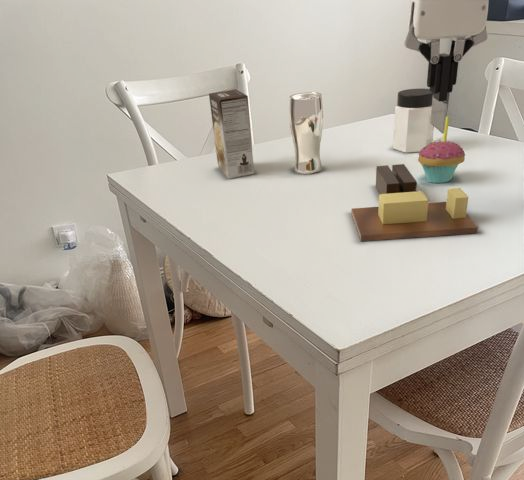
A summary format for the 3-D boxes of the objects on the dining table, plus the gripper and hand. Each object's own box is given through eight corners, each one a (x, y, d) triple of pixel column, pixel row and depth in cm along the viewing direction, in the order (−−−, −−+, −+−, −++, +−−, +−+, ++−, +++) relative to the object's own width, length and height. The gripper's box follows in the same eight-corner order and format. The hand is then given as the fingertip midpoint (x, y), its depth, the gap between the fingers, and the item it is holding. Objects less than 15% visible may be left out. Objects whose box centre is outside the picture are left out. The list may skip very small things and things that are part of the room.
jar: (428, 142, 128) (433, 87, 122) (435, 151, 122) (441, 93, 115) (390, 144, 129) (393, 90, 122) (395, 153, 123) (399, 96, 116)
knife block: (402, 184, 105) (403, 163, 103) (415, 204, 96) (416, 181, 94) (375, 186, 105) (376, 166, 103) (385, 206, 96) (386, 184, 94)
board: (455, 206, 93) (456, 200, 93) (477, 233, 84) (478, 227, 83) (351, 213, 94) (351, 208, 94) (360, 241, 85) (360, 235, 84)
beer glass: (322, 174, 114) (321, 97, 106) (290, 175, 116) (286, 99, 107) (325, 164, 120) (324, 91, 111) (294, 165, 121) (290, 93, 113)
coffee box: (217, 168, 124) (207, 92, 115) (243, 164, 125) (236, 88, 116) (228, 179, 117) (218, 99, 108) (255, 174, 118) (249, 94, 109)
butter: (420, 211, 90) (421, 190, 88) (426, 221, 86) (428, 200, 84) (378, 214, 91) (379, 194, 89) (382, 224, 87) (383, 203, 85)
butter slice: (457, 208, 90) (460, 187, 88) (465, 218, 86) (468, 196, 84) (445, 209, 90) (447, 188, 88) (453, 219, 86) (455, 197, 84)
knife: (434, 122, 87) (441, 51, 81) (447, 133, 82) (455, 57, 76) (427, 123, 87) (433, 52, 82) (439, 133, 82) (447, 58, 76)
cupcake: (422, 171, 111) (427, 108, 104) (465, 174, 107) (474, 109, 100) (412, 184, 104) (417, 119, 98) (457, 188, 101) (466, 120, 94)
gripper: (504, -65, 74) (483, 83, 84) (390, -54, 74) (384, 91, 85) (526, -69, 68) (501, 91, 78) (402, -57, 68) (394, 100, 79)
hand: (440, 90), depth 81 cm, fingers closed on knife, 1 cm apart
